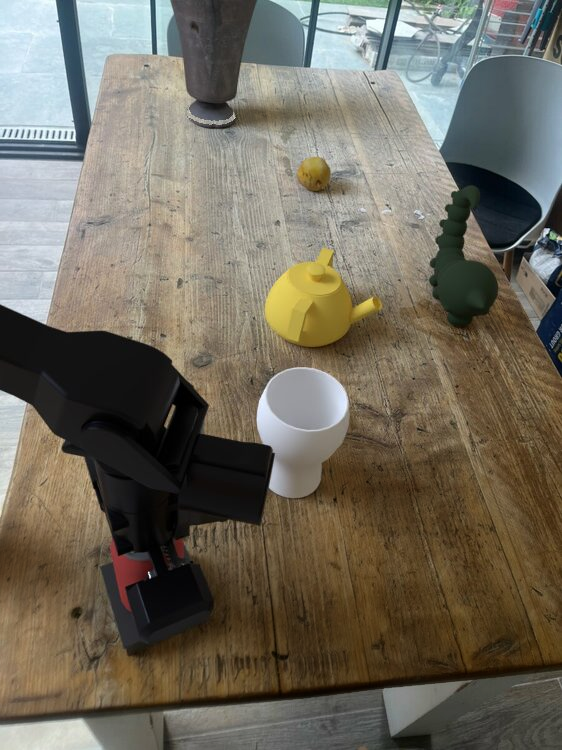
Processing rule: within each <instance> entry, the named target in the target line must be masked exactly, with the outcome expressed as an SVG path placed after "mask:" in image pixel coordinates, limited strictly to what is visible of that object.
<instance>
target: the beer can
mask: <svg viewBox="0 0 562 750" xmlns="http://www.w3.org/2000/svg"><path fill="white" fill-rule="evenodd" d="M171 538H172V540H173V543H174V546H175V548H176V551H177V553H178V556H179V557H180V558H184V544H185V542H184V538H181V539H179V540H175V538H174V536H172V537H171ZM183 542H184V543H183ZM160 549H161V552H162V554H163V557H164V560H165V563H166V565H167V564H168V562H169V561H167V560H166V558H168V557H165V554H166V553H164V552H163V550H164V549H162V546H161V547H160ZM109 551H110V555H111V556H110V557H111V560H112V562H113V565H114V570H115V574H116V579H117V583H118V588H119V593H120V597H121V601H122V603H123V604H124V606H125V607H126V609H127V610H129V611H130V612H131V609H130V606H129V602H128V599H127V594H126V590H125V587H126V586H128V585H131V584H133V583H136V582H138V581H141V580H144V579H146V578H149V576H148V572H149V571H152V570H153V568H152V565H151V562H150V559H149V556H148V553H147V552H144V553H135V554H133V553H131V552H129V553H126V554H123V555H121V556H118V554H117V551H116V548H115V544H114V541H113V538H112V537H111V539H110V547H109ZM171 568H172V565H171Z"/></svg>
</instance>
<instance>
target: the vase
mask: <svg viewBox="0 0 562 750" xmlns="http://www.w3.org/2000/svg"><path fill="white" fill-rule="evenodd" d="M169 2H170V5H171V8H172V12H173V15H174V19H175V23H176V27H177V32H178V37H179V42H180V47H181V55H182V61H183V62H182V63H183V69H184V79H185V89H186V92H187V95H188V96H190V97H191V98H193V99H195V100H194V101H193V102H192V103H191V104H189V106H190V107H189V106H188V107H189V110H190V112H191V114H192V115H194V116H195V117H198V118H200V119H204V120H211V121H213V120H215V121H219V120H226V119H229V118H230V117H231V116H232V115H233V111H234V109H233V108H232V107H231V106H230V105H229V104H228V103H229V102H231V101H232V100H234V99H235V98H236V96H237V91H238V85H239V79H240V78H239V77H240V71H241V66H242V59H243V54H244V51H245V50H244V49H245V45H246V41H247V38H248V35H249V34H248V33H249V29H250V26H251V23H252V19H253V15H254V12H255V8H256V5H257V2H258V0H169ZM232 109H233V110H232ZM190 119H191V118H189V119H188V120H189V121H191V122H192V123H193V124H195V125H198V126H200V127H203V128H209V129H211V128H217V129H221V128H227V127H229V126H231V125H233V124H235V122H236V121H237V116H236V118H235V119H234V120H233V121H231V122H229V123H227V124H222V125H216V124H212V125H209V124H203V123H199V122H197V121H194V120H193V119H191V120H190Z"/></svg>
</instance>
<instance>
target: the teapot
mask: <svg viewBox="0 0 562 750" xmlns="http://www.w3.org/2000/svg"><path fill="white" fill-rule="evenodd" d="M334 254H335V250H332V249H329V248H326V247H322V248H321V251H320V252H319V254H318V255H317V258H316V260H315V261H303V262H300V263H296V264H295V265H292V266H291V267H289V269H287V270H286V271H285V272H284V273H283V274H282V275H281V276H280V277H279V278H278V279H276V281H275V282H274V284H273V285H272V287H271V289H269V292H268V295H267V296H266V300H265V305H264V317H265V319H266V322H267V324H268V326H269V327H270V328H271V329H272V330H273V332H274V333H276V334H277V335H278V336H279V337H280V338H282V339H283V340H285V341H287V342H288V343H290V344H293V345H295V346H300V347H305V348H317V347H318V348H319V347H323V346H327V345H329V344H332V343H334V342H336V341H339V340H340V339H341V338H343V337H344V336H345V335H346V334H347V333H348V331H349V330H350V328H351V326H352V325H353V324H355V323H357V322H358V321H361V320H363V319H365V318H367V317H369V316H371V315H373V314H375V313H377V312H379V311H381V310H383V302H382V301H381V299H380V298H379V297H378V296H376V295H375V296H372V297H370V298H369V299H367V300H365V301H363V302H361V303H359V304H357V305H356V306H354V307H353V301H352V296H351V294H350V291H349V289H348V286H347V285H346V283H345V280H344V279H343V277H342V276H341V275H340V274H339V272H338V271H337V270H336V269H334V268H333V263H334Z"/></svg>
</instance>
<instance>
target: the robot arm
mask: <svg viewBox="0 0 562 750" xmlns="http://www.w3.org/2000/svg"><path fill="white" fill-rule="evenodd" d="M0 392H3V393H6V394H8V395H11V396H13V397H15V398H17V399H19V400H21V401H23V402H24V403H26V404H29V405H31V406H32V407H33V408H34V410H35V412H37V414H38V415H39V417H40V418H41V419H42V421H43V422H44V423H45V425H46V426H47V427H48V428H49V430H50V431H51V433H53V435H54V436H57V437H58V438H60V439H62V440H64V442H63V443H62V445H61V448H60V449H61V451H62V452H63V453H64V454H67V455H72V456H77V457H81V458H84V462H85V466H86V469H87V472H88V475H89V480H90V482H91V486H92V488H93V490H94V493H95V496H96V499H97V502H98V505H99V508H100V510H101V512H103V513H104V515H105V519H106V522H107V526H108V528H109V531H110V535H111V539H112V538H113V541H114V544H115V548H116V551H117V554H118V556H121V555H123V554H126V553H129V552H131V553H133V554H135V553H144V552H147V553H148V556H149V559H150V562H151V565H152V568H153V570H152V571H149V572H148V576H149V578H146V579H144V580H141V581H138V582H136V583H133V584H131V585H128V586H126V587H125V590H126V594H127V599H128V602H129V606H130V609H131V613H132V616H133V619H134V623H135V626H136V629H137V632H138V636H139V639H140V641H142V642H144V643H146V644H149V645H150V644H152V643H154V642H156V641H159V640H161V639H163V638H166V637H168V636H170V635H173V634H175V633H177V632H180V631H182V630H184V629H186V628H189V627H191V626H193V625H196V624H198V623H200V622H203V621H205V620H207V619H208V620H209V619H211V617H212V615H213V612H214V610H215V598H214V596H213V593H212V591H211V589H210V586H209V583H208V580H207V578H206V576H205V573H204V571H203V568H202V565H201V564H200V563H194V561H193V560H191V561H190V562H189V561H188V560H187V559H185V558H180V557H179V556H178V553H177V551H176V548H175V546H174V543H173V540H172V538H171V537H172V536H174V538H175V540H179V539H181V538H183V539H184V538H186V537H189V536H191V529H190V528H191V527H192V526H203V525H207V524H212V523H213V524H214V523H224V522H228V521H233V522H238V523H242V524H249V525H253V526H258V527H261V525H262V522H263V517H264V512H265V510H266V509H265V508H266V503H267V499H268V494H269V489H270V488H269V484H270V479H271V474H272V469H273V463H274V458H275V453H273V449H272V447H271V446H269V445H265V444H263V443H259V442H252V441H251V442H250V441H240V440H236V439H230V438H226V437H221V436H216V435H210V434H205V419H206V416H207V413H208V412H209V408H210V405H209V403H208V402H207V400H205V398H204V397H203V396H201V394H200V393H199V392H198V391H197V390H196V388H195V386H194V385H193V384H192V383H191V382H190V381H188V380H187V379H186V378H185V377H184V376H183V375H182V374H181V373H180V371H179V370H178V369H177V368H176V367H175V366H174V365H173V360H172V358H170V356H168V355H167V354H166V353H165V352H163V351H162V350H160V349H158V348H156V347H155V346H152V345H151V344H148V343H144V342H142V341H139V340H135V339H132V338H130V337H126V336H123V335H120V334H117V333H113V332H111V331H108V330H103V329H101V330H80V331H79V330H77V331H66V330H62V329H60V328H57V327H53V326H50V325H48V324H45V323H44V322H41V321H39V320H37V319H34V318H32V317H30V316H27V315H26V314H23V313H21V312H19V311H16V310H14V309H12V308H10V307H7V306H5V305H3V304H1V303H0ZM173 406H174V408H173ZM172 408H173V411H172V414H171V416H170V419H169V421H168V424H167V427H166V423H167V420H168V418H169V415H170V412H171V410H172ZM161 546H162V549H164V550H163V552H164V553H166V554H165V557H168V558H166V560H167V561H169V562H168V564H167V565H166V563H165V560H164V557H163V554H162V552H161V549H160V547H161ZM171 565H172V568H171Z"/></svg>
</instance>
